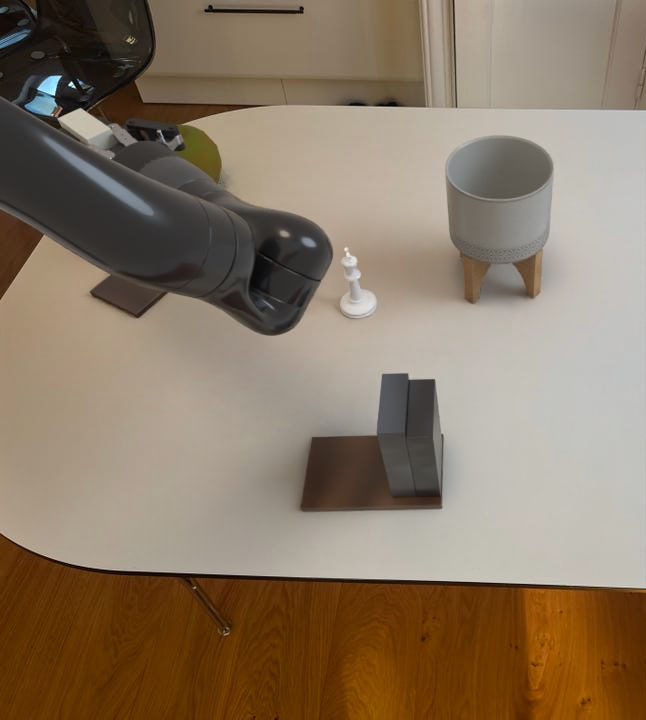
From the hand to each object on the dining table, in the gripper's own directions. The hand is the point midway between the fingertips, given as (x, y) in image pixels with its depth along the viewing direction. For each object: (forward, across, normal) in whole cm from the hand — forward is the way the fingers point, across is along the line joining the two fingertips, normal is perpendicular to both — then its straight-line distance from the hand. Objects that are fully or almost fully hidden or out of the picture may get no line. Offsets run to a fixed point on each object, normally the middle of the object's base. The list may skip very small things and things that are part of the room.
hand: (77, 130), depth 74 cm
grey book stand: (-40, -1, +27) cm, 48 cm away
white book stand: (+8, -3, +27) cm, 28 cm away
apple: (+19, -18, +27) cm, 37 cm away
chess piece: (-19, -17, +27) cm, 37 cm away
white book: (-3, 0, +10) cm, 10 cm away
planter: (-30, -33, +27) cm, 52 cm away
